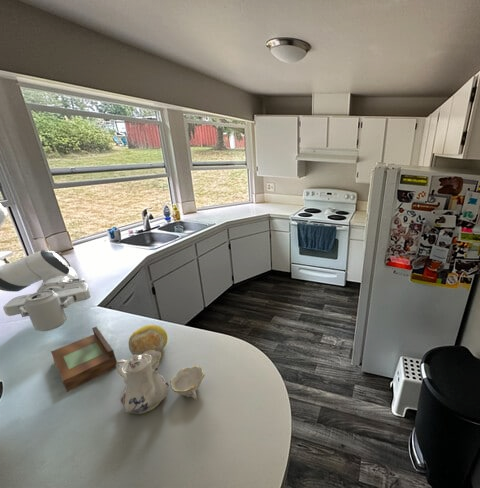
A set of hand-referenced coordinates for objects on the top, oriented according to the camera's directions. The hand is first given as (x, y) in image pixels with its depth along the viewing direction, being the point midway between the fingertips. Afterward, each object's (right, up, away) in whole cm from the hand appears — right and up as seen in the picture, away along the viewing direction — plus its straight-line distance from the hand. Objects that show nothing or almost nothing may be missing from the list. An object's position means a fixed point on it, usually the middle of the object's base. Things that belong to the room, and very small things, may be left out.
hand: (45, 310), depth 81 cm
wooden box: (+13, -18, +1) cm, 22 cm away
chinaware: (+42, -22, -8) cm, 48 cm away
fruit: (+30, -17, +6) cm, 35 cm away
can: (-1, -6, +3) cm, 7 cm away
